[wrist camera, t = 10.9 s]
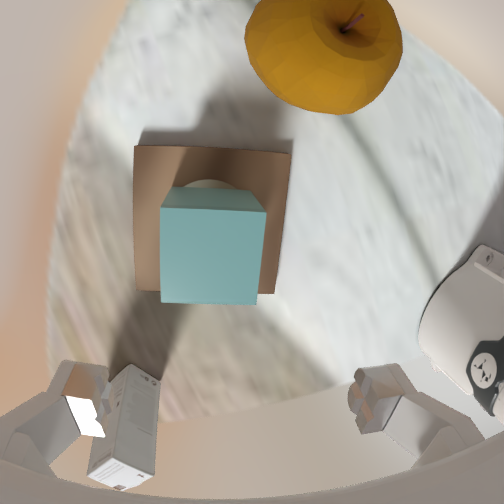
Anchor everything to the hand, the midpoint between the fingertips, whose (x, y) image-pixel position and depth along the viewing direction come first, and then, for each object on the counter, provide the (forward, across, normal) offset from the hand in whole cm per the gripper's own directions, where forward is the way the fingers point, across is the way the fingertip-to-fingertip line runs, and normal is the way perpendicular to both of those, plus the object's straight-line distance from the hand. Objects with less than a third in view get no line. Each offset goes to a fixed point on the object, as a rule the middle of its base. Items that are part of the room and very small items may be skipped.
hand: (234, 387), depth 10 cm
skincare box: (+18, +9, +19) cm, 28 cm away
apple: (+19, -5, -14) cm, 24 cm away
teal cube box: (+17, +1, 0) cm, 17 cm away
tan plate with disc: (+18, +1, 0) cm, 18 cm away
